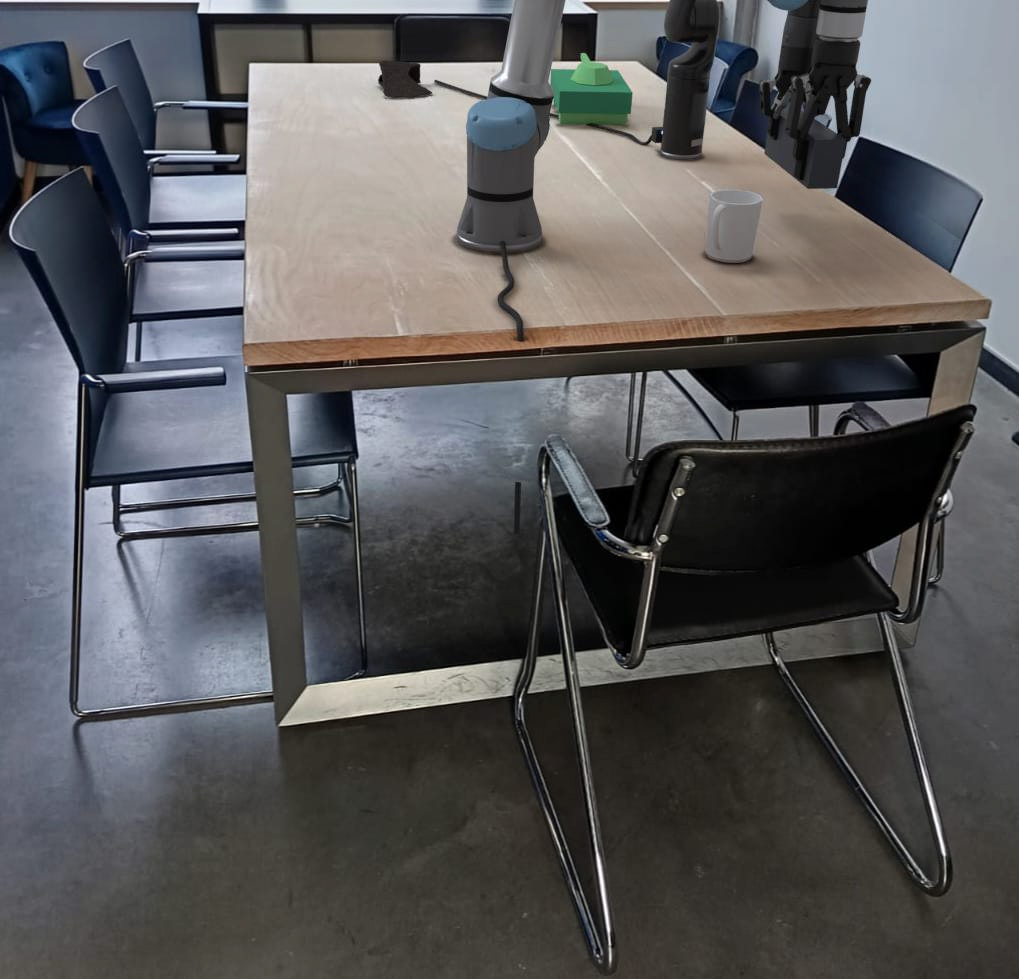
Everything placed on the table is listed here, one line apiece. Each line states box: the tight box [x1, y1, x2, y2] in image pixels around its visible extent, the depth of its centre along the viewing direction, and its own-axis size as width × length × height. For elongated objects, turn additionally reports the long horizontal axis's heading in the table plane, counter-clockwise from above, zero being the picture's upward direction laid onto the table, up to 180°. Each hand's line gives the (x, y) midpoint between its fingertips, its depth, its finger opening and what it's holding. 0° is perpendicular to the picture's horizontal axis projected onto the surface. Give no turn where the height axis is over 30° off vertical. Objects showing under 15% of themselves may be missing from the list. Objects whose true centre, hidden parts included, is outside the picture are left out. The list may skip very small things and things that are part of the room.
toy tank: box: [549, 52, 633, 126], centre depth 280 cm, size 18×12×35 cm
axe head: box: [377, 59, 433, 99], centre depth 299 cm, size 18×8×15 cm
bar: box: [764, 107, 846, 190], centre depth 198 cm, size 23×5×8 cm, turn 8°
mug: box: [705, 188, 764, 264], centre depth 188 cm, size 11×9×10 cm
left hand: (814, 177), depth 194 cm, fingers closed on bar, 5 cm apart
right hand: (788, 137), depth 205 cm, fingers closed on bar, 5 cm apart
